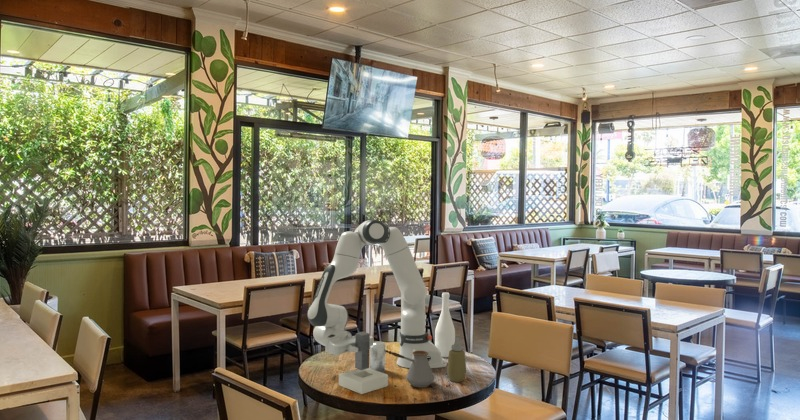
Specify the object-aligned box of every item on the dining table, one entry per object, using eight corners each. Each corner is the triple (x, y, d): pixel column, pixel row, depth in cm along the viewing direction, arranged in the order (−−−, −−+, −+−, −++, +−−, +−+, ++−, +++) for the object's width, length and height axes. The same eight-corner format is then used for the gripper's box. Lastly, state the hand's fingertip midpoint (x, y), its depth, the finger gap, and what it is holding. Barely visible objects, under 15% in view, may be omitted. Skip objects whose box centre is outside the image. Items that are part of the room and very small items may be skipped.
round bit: (383, 368, 248) (384, 341, 247) (386, 372, 241) (386, 345, 241) (369, 368, 247) (369, 341, 246) (370, 373, 240) (371, 345, 240)
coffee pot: (428, 378, 235) (428, 342, 234) (438, 387, 224) (439, 350, 223) (379, 383, 228) (379, 346, 228) (387, 392, 217) (387, 354, 217)
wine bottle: (456, 353, 272) (458, 291, 271) (451, 358, 263) (452, 295, 263) (438, 351, 276) (439, 290, 275) (432, 356, 267) (433, 293, 266)
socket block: (365, 377, 235) (365, 366, 235) (388, 385, 225) (388, 374, 225) (338, 385, 225) (338, 373, 225) (361, 394, 215) (361, 382, 215)
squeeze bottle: (443, 378, 235) (444, 335, 235) (460, 375, 239) (461, 333, 238) (452, 384, 228) (453, 340, 228) (469, 381, 231) (470, 338, 231)
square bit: (362, 365, 228) (363, 331, 227) (369, 368, 225) (369, 333, 225) (355, 367, 225) (355, 333, 225) (361, 370, 223) (362, 335, 222)
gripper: (360, 343, 242) (382, 350, 232) (322, 353, 227) (344, 362, 217) (360, 328, 241) (383, 335, 231) (322, 338, 227) (344, 346, 217)
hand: (363, 348), depth 224 cm, fingers closed on square bit, 4 cm apart
